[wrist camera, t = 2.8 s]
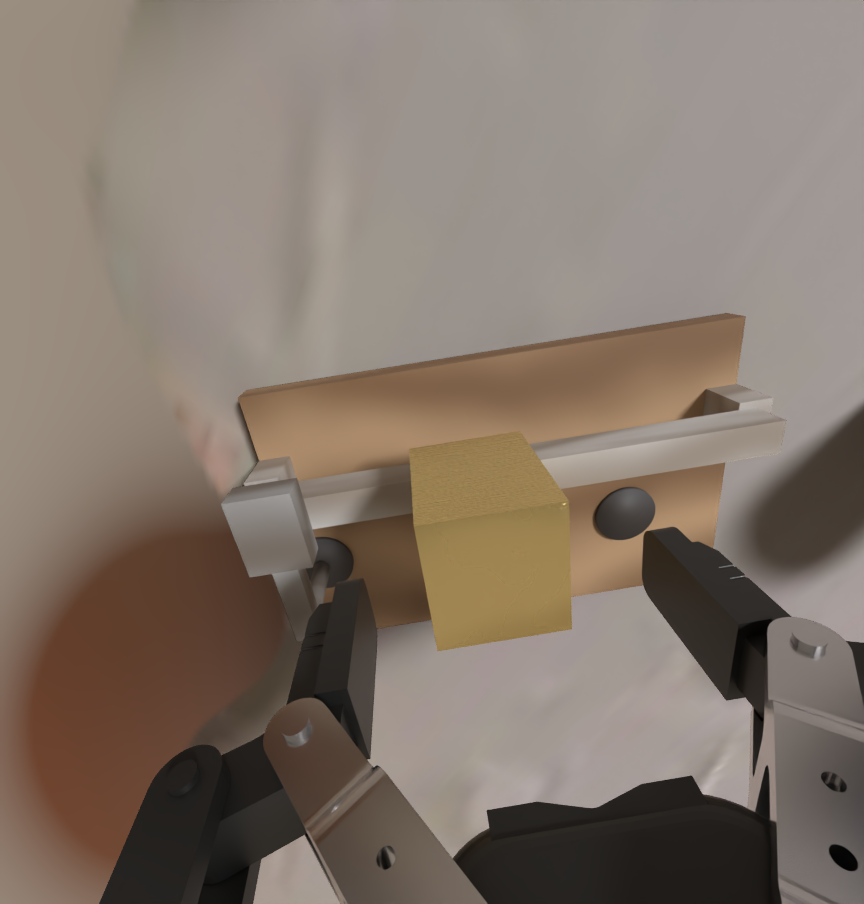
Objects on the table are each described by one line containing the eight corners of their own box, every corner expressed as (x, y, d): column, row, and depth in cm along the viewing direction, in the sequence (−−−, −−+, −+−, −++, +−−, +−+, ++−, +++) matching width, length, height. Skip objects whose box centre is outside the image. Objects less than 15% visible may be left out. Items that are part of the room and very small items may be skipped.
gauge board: (246, 390, 20) (186, 442, 14) (726, 313, 20) (855, 334, 14) (322, 621, 26) (301, 725, 20) (696, 560, 26) (780, 646, 20)
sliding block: (407, 415, 19) (413, 526, 11) (498, 400, 19) (569, 501, 11) (432, 559, 22) (451, 726, 14) (511, 547, 22) (573, 706, 14)
